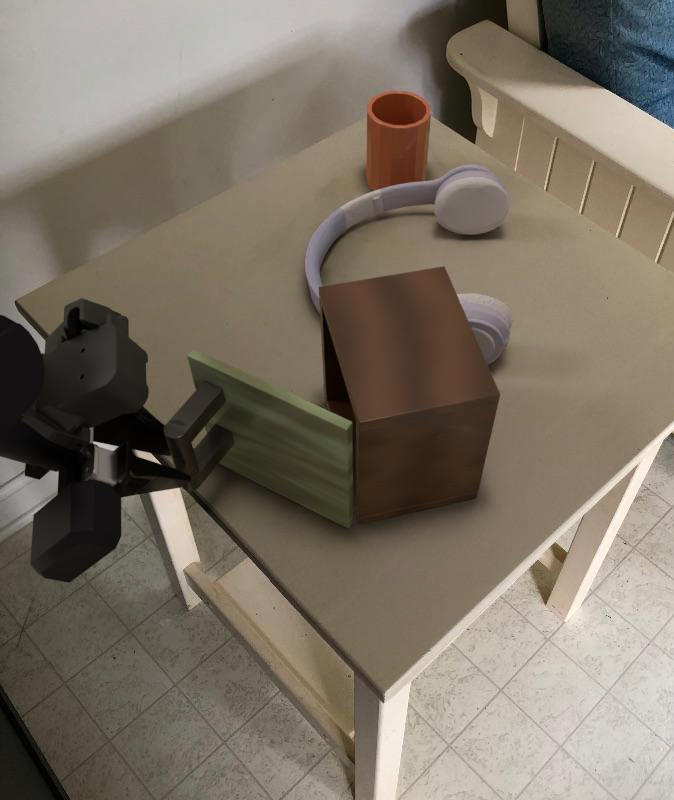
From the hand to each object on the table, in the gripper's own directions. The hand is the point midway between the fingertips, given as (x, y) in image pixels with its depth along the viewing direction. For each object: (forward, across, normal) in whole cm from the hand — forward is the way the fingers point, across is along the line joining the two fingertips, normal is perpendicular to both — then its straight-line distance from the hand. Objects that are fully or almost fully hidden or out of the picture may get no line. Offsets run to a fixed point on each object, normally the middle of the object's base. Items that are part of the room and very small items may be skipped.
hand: (187, 467), depth 60 cm
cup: (+22, +39, -11) cm, 47 cm away
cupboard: (+17, +4, -6) cm, 19 cm away
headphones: (+21, +23, -9) cm, 33 cm away
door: (+9, -1, +2) cm, 9 cm away
